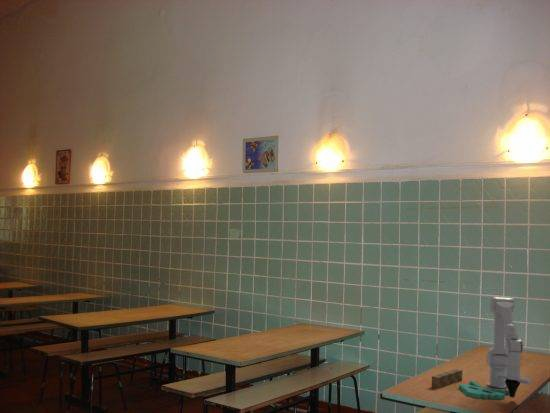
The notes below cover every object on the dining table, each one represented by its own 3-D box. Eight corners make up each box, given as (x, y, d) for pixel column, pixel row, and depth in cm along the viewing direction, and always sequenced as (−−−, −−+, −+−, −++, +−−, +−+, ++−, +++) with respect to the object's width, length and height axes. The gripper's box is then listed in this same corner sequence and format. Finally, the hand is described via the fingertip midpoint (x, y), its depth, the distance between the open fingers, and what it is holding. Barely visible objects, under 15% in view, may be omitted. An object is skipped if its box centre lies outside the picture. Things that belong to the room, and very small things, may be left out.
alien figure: (471, 385, 273) (452, 392, 259) (471, 380, 274) (452, 387, 260) (512, 395, 259) (494, 403, 245) (512, 390, 259) (494, 398, 245)
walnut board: (456, 378, 282) (456, 368, 282) (462, 380, 280) (462, 370, 280) (431, 386, 265) (431, 376, 265) (437, 388, 263) (437, 377, 263)
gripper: (493, 364, 252) (492, 394, 252) (525, 371, 242) (524, 402, 241) (500, 362, 257) (499, 391, 257) (532, 368, 246) (531, 399, 246)
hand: (512, 396), depth 249 cm, fingers closed
